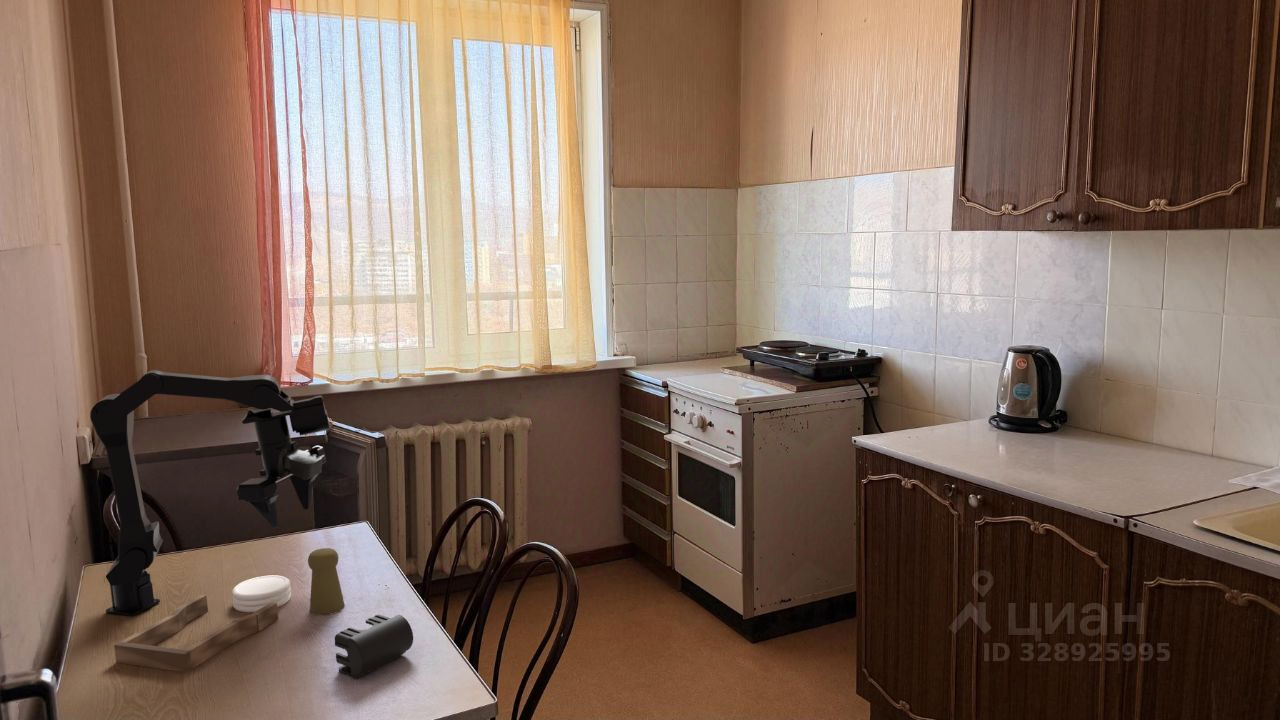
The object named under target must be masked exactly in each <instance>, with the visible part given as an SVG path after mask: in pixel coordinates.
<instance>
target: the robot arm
mask: <svg viewBox="0 0 1280 720" xmlns="http://www.w3.org/2000/svg"><path fill="white" fill-rule="evenodd" d="M155 395H167V396H178V397H189V398H191V397H192V398H202V399H203V398H205V399H214V400H215V399H216V400H224V401H225V400H226V401H230V402H233V403H235V404H238V405H242V406H246V407H250V408H248V410H247V413H246V414H245V415H244V417H243V418H242V421H241V422H242V424H243V425H247V424H251V423H252V424H253V425H254V430H255V433H256V437H257V442H258V447H259V448H257V449H255V450H254V452H255V456H261V459H262V460H261V461H262V466H263V469H260V470H259V475H260V477H256V478H249V479H248V480H246V481H243V482H241V483H240V484H238V485H237V487H236V489H235V491H236V495H237V498H238V499H237V500H238V501H241V500H243V501H244V503H249V504H251V506H253V508H255V509H256V510H257V512H259V513H260V514H261V516H262V517H263V518H264V519H265V521H266V522H267V523H268V524H269V525H270V526H271V527H272V528H273V529H277V528H278V527H279V518H278V517H279V516H278V513H277V506H276V505H277V504H276V500H277V499H278V496H279V494H280V493H279V492H276V491H277V488H278V486H277V485H278V484H279V483H281V482H283V481H286V480H288V479H290V482H291V484H292V486H293V489H294V491H295V493H296V496H297V498H298V501H299V503H300V505H301V507H302V508H303V510H307V511H308V510H309V509H310V508H311V500H312V499H311V498H312V492H313V485H314V481H315V479H316V478H317V477H318V476H319V474H321V473H322V469H323V468H326V463H327V459H326V452H325V449H324V447H323V446H320V445H315V446H313V447H311V448H310V450H309V449H306V450H301V449H300V447H299V446H300V445H299V444H298V443H297V441H292V439H291V434H290V430H289V425H288V420H287V416H289V421H290V425H291V431H292V432H295V433H296V434H299V436H305V435H310V434H314V433H315V434H317V433H319V432H324V431H329V430H330V431H331V428H330V427H331V426H330V423H329V422H330V421H329V417H328V411H327V409H326V406H325V403H324V398H323V396H322V395H315V396H312V397H311V398H305V399H301V400H294V399H293V398H292V397H291V396H289V394H287V393H286V392H285V391H283V390H282V389H281V385H280V382H279V381H278V380H277V379H276V378H275V377H274V376H273V375H270V374H256V375H255V374H254V375H251V374H250V375H242V376H235V377H222V376H211V375H202V374H201V375H199V374H188V373H175V372H167V371H160V370H157V369H153V370H152V369H151V370H149V371H148V372H146V373H145V374H143V376H141V378H139V380H137V381H136V382H134V383H132V384H131V385H129V386H128V387H127V388H126V389H124V390H122V392H120V393H112V394H108V395H106V396H104V397H103V398H101V399H100V400H99V401H97V402H96V403H95V405H93V407H92V408H91V409H90V414H89V417H90V421H91V423H92V426H93V429H94V431H95V433H96V436H97V437H98V439H99V441H100V442H101V444H102V445H103V447H104V449H105V451H106V456H107V461H108V468H109V473H110V477H111V481H112V482H111V483H112V487H113V492H114V498H115V502H116V508H117V513H118V518H119V535H118V542H117V544H118V545H117V546H118V548H117V551H118V552H117V557H116V559H114V561H113V563H112V565H111V566H110V568H109V570H108V572H107V574H106V575H105V579H106V580H107V581H108V582H107V583H109V586H110V595H111V604H112V606H111V607H108V608H106V609H105V613H106V614H114V615H122V616H128V617H129V616H130V617H131V616H132V617H133V616H135V615H138V614H139V613H141V612H144V611H145V610H147V609H149V608H151V607H153V606H155V605H157V604H159V603H160V602H161V600H160V598H155V596H154V589H153V582H152V581H151V574H150V572H149V573H148V571H147V569H148V568H150V567H151V565H152V564H153V563H154V561H155V559H156V556H157V555H158V552H159V551H160V547H161V545H162V543H163V542H164V541H163V540H164V539H163V538H162V537H161V534H160V522H159V521H157V520H156V521H154V522H151V521H150V520H149V518H148V516H147V514H146V510H145V506H144V500H143V495H142V490H141V484H140V479H139V473H138V468H137V462H136V458H135V451H134V448H133V434H134V424H135V410H136V409H137V408H139V407H140V406H142V405H143V404H144V403H146V401H148V400H149V399H151V398H152V397H153V396H155ZM252 408H254V409H258V411H257V410H254V409H252ZM273 410H274V411H273Z"/></svg>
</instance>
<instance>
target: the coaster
mask: <svg viewBox="0 0 1280 720" xmlns="http://www.w3.org/2000/svg"><path fill="white" fill-rule="evenodd" d="M291 591H292V588H291V581H290V579H289V578H287V577H286V576H283V575H276V574H274V575H272V574H271V575H262V576H257V577H253V578H250V579H249V578H248V579H246V580H243V581H241V582H239V583H238V584H236V586H234V588H232V591H231V594H232V596H233V597H232V601H233V603H232V605H233V608H234V609H235V610H236V611H239V612H242V613H254V612H256V611H258V610H259V609H261V608H263V607H264V606H266V605H268V604H269V603H271V602H273V603H277V608H279V607H281V606H283V605H285V604H287V602H289V601H290V599H291V598H292V592H291Z"/></svg>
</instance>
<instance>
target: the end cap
mask: <svg viewBox="0 0 1280 720" xmlns="http://www.w3.org/2000/svg"><path fill="white" fill-rule="evenodd" d="M365 624H367V625H371V626H372V627H370V628H367V629H357V628H354V627H347V629H344V630H341V631H340V632H338V633H336V634H335V636H334V646H335V647H336V648H337V647H338V648H340V649H343V650H345V652H346V653H347V655H345V654H343V653H340V652H336V653H335V661H336V663H337V664H340V665H341V666H339V667H338V673H340V674H342V675H344V676H347V677H350V678H352V679H359V678H361V677H362V676H364V675H366V674H368V673H370V672H372V671H373V670H375V669H378V668H380V667H383V666H384V665H385V664H388V663H389V662H391V661H393V660H395V659H396V658H399V657H401V656H402V655H403V654H405V653H406V652H407V651H409V650H411V648H412V645H413V643H414V634H413V633H414V632H413V629H412V627H411V624H410V623H409V621H408V620H407V619H406V618H405V616H403V615H401V614H397V615H394V616H392V617H388V616H385V615H381V614H376V615H374V616H372V617H369V618H368V619H366V620H365Z"/></svg>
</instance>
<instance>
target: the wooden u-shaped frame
mask: <svg viewBox="0 0 1280 720" xmlns="http://www.w3.org/2000/svg"><path fill="white" fill-rule="evenodd" d="M278 610H279V609H278V607H277V603H273V602H271V603H269V604H268V605H266V606H264V607H263V608H261V609H259V610H258V611H256V612H252V613H251V614H248V615H245V616H243V617H239V618H238V619H234V620H232V621H230V622H228V623H227V624H225V625H224V626H221V627H219V628H218V629H217V630H215V631H213V632H211V633H210V634H209V635H207V636H205V637H203V638H202V639H200V640H198V641H196V642H195V643H193V644H192V645H190V646H188V647H187V648H185V649H181V648H172V647H165V646H164V647H163V646H158V644H159V643H160V642H162V641H164V640H166V639H168V638H170V637H172V636H174V635H175V634H176V633H178V632H180V631H181V630H182V629H183V628H184V627H185V626H186V624H187V623H189V622H191V621H192V620H194V619H197V618H199V617H200V616H202V615H203V614H205V613H207V612H208V611H209V607H208V597H207V595H206V594H200V595H198V596H196V597H193V598H192V599H190V600H189V601H186V602H185V603H183V604H181V605H179V606H178V607H177V608H176V609H175V610H174V611H173V612H172V613H171V614H169V615H167V616H166V617H163V618H162V619H159V620H158V621H156V622H154V623H152V624H150V625H148V626H147V627H144V628H143V629H141V630H139V631H137V632H135V633H134V634H132V635H130V636H129V637H127V638H124V639H123V640H121V641H119V642H117V643H114V644H113V647H114V649H113V650H114V656H115V663H116V664H117V663H118V664H125V665H130V666H131V665H132V666H138V667H139V666H140V667H146V668H153V669H161V670H168V671H175V672H180V673H181V672H183V673H188V672H189V671H191V670H193V669H194V668H196V667H197V666H198V665H200V664H202V663H204V662H206V661H207V660H208V659H210V658H212V657H213V656H215V655H217V654H218V653H220V652H221V651H223V650H225V649H226V648H228V647H229V646H230V645H232V644H234V643H235V642H238V640H240V639H243V638H245V637H249V636H251V635H253V634H256V633H258V632H260V631H262V630H263V629H265V628H266V627H268V626H270V625H271V624H273V623H274V622H276V621H277V620H279V611H278Z"/></svg>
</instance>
